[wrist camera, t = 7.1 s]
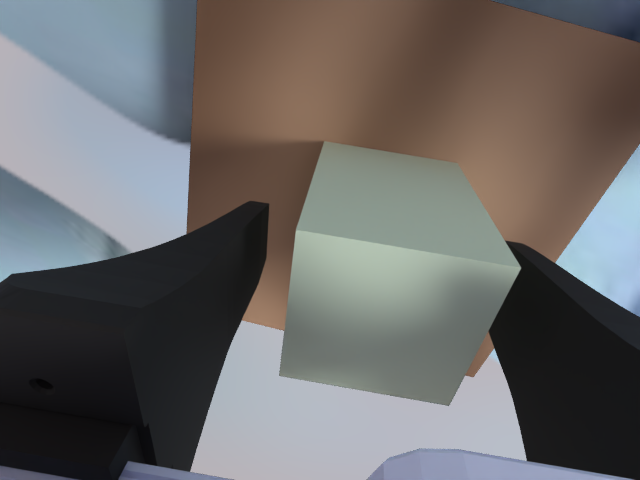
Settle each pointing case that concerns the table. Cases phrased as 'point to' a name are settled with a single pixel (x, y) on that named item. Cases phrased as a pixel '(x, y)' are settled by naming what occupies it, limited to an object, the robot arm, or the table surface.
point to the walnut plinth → (407, 112)
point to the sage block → (392, 276)
